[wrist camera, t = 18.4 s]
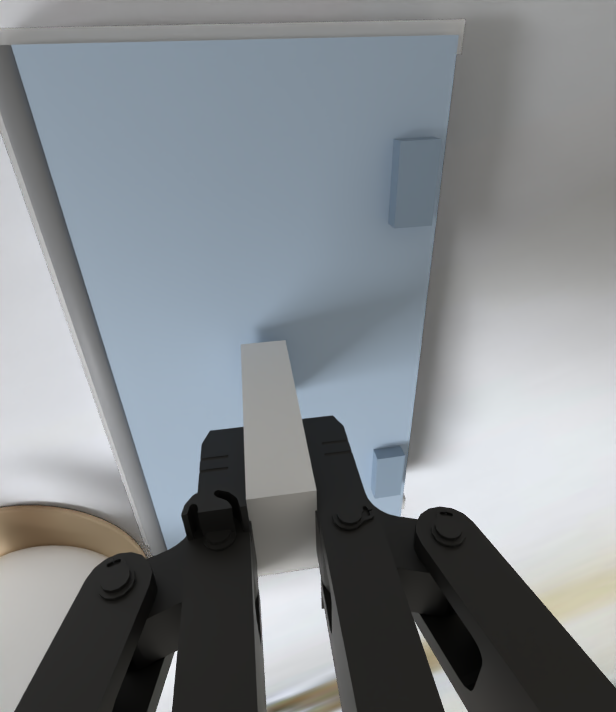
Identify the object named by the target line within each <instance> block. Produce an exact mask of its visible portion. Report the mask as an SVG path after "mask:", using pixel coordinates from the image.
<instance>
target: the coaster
mask: <svg viewBox="0 0 616 712" xmlns="http://www.w3.org/2000/svg"><path fill="white" fill-rule="evenodd" d="M49 545H59V546H72V547H78V548H84V549H88V550H91V551H95V552H97V553H100V554H103V555H105V556H107V557H111V556H114V555H116V554H119V553H127V552H133V553H137V554H140V555H143V556H144V557H145V558H146V556H145V554H144V552H143V550H142V549H141V548H140V546H139V545H138V544H137V543H136V542H135V541H134V540H133V539H132V537H131V536H129V535H128V534H127V533H125V532H124V531H123V530H121V529H120V528H118V527H116V526H115V525H113V524H111V523H109V522H107V521H105V520H103V519H100V518H98V517H95V516H92V515H90V514H87V513H83V512H79V511H75V510H71V509H66V508H60V507H53V506H40V505H20V506H8V507H1V508H0V557H1V556H3V555H6V554H8V553H11V552H14V551H18V550H21V549H25V548H30V547H37V546H49ZM146 559H147V558H146Z"/></svg>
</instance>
